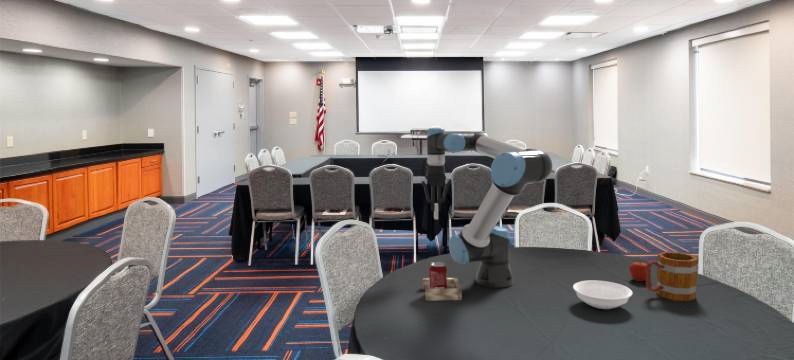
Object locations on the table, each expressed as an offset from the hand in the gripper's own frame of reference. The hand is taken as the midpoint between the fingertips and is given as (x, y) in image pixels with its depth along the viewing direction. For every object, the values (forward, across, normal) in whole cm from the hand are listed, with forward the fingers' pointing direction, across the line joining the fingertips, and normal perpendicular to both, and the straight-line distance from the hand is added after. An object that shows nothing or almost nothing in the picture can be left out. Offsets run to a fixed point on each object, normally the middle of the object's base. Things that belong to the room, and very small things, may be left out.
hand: (436, 218), depth 220 cm
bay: (+24, +2, +26) cm, 36 cm away
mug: (+24, -84, +36) cm, 94 cm away
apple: (+24, -82, +18) cm, 88 cm away
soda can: (+24, +3, +26) cm, 36 cm away
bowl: (+24, -54, +44) cm, 74 cm away
